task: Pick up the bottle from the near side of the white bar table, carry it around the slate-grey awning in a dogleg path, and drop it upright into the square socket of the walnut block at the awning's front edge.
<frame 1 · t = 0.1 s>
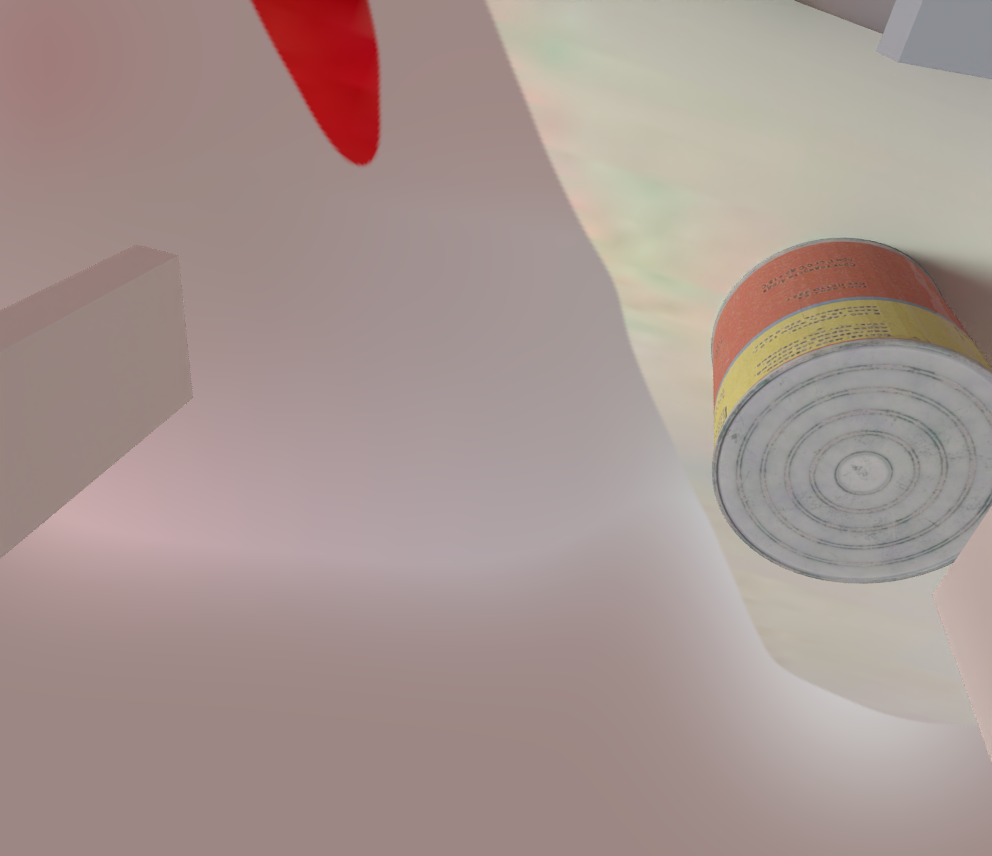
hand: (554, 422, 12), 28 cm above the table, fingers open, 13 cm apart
canned food: (823, 342, 39), on the table
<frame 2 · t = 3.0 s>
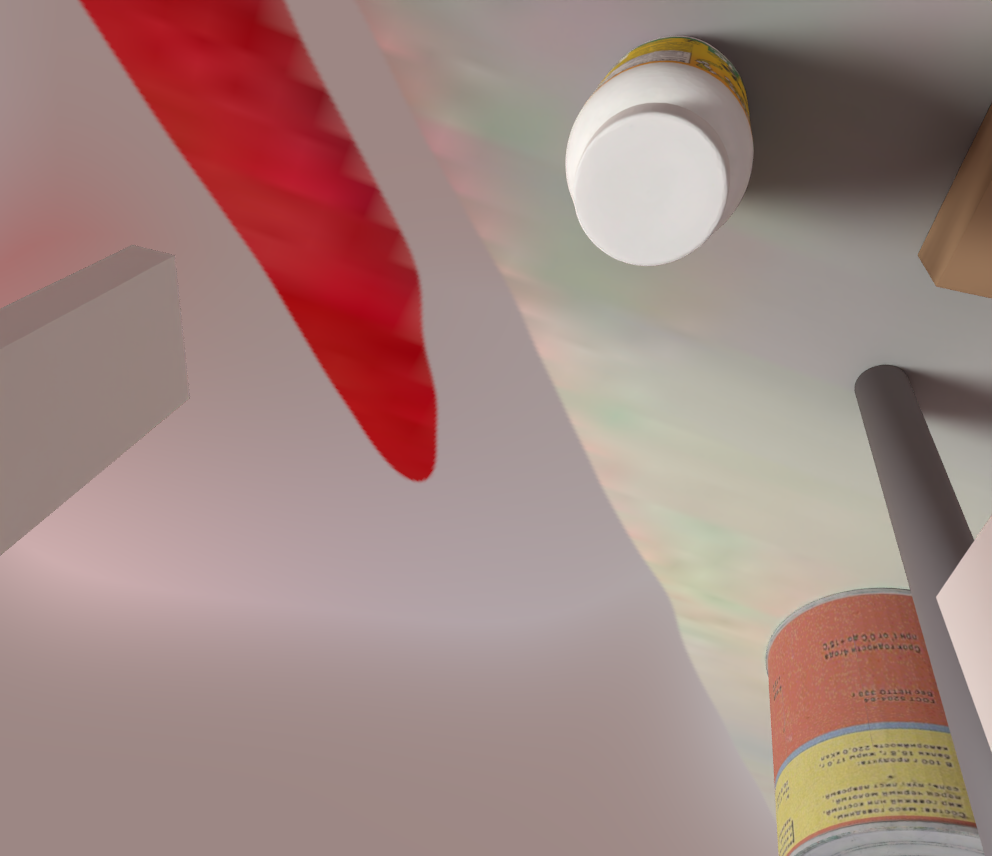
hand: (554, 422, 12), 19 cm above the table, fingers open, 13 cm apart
supplement bottle: (670, 116, 27), on the table
canned food: (880, 663, 39), on the table
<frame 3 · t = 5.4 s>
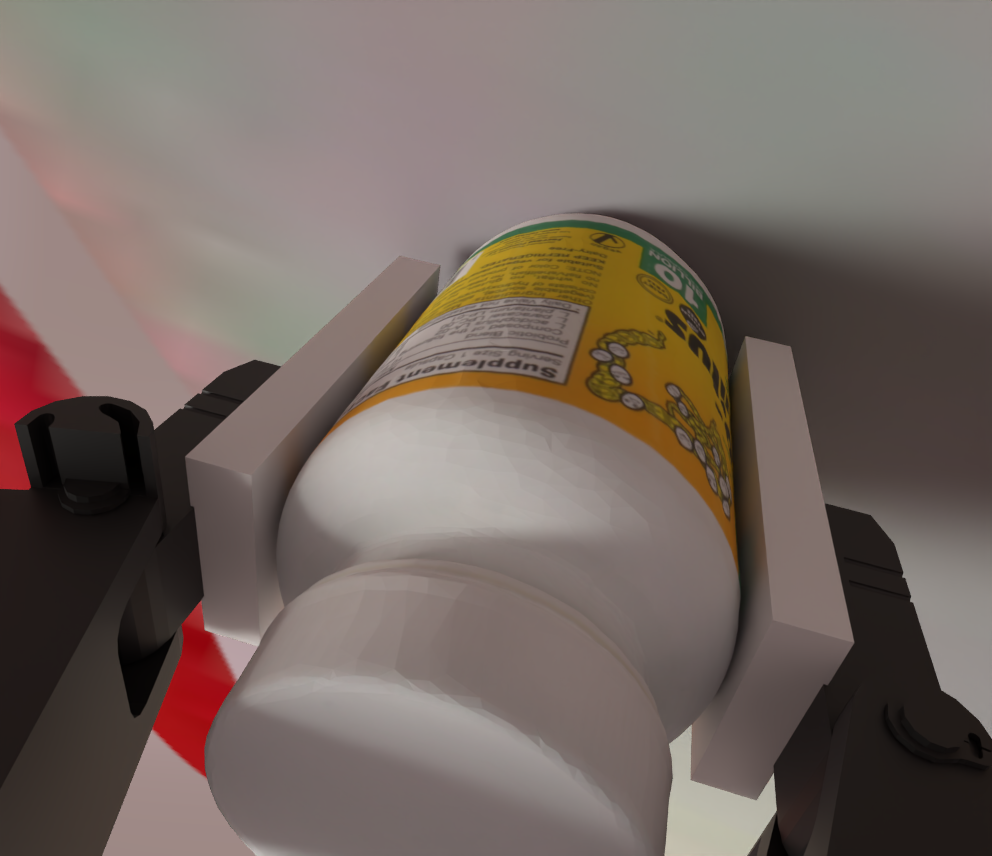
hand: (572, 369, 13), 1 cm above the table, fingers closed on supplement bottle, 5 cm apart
supplement bottle: (581, 345, 14), on the table, touching gripper
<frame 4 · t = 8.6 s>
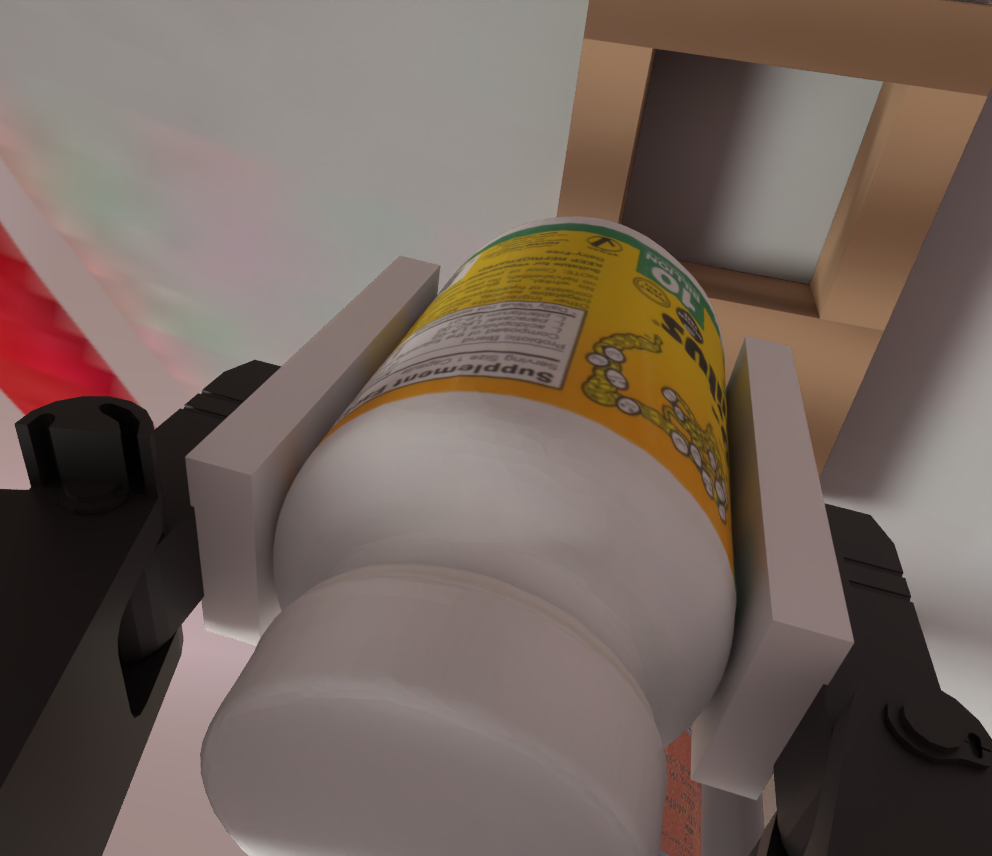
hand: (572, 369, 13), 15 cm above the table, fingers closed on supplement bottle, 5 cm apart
socket block: (711, 266, 27), on the table
supplement bottle: (579, 347, 14), point 14 cm above the table, touching gripper
canned food: (610, 752, 44), on the table
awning: (653, 472, 32), on the table
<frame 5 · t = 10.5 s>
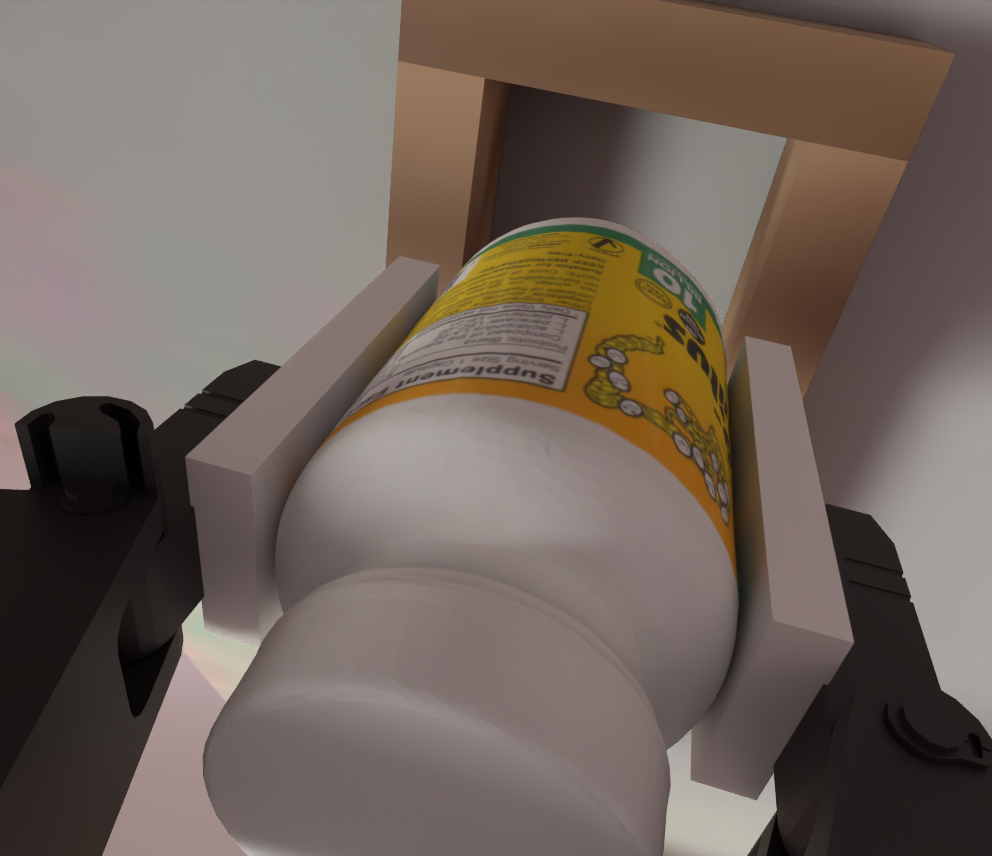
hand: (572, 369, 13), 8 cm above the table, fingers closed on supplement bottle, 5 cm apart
socket block: (591, 340, 22), on the table
supplement bottle: (580, 348, 14), point 7 cm above the table, touching gripper
when the fingers open (4 cm above the table, at t = 11.9 s): supplement bottle drops 3 cm, resting in socket block.
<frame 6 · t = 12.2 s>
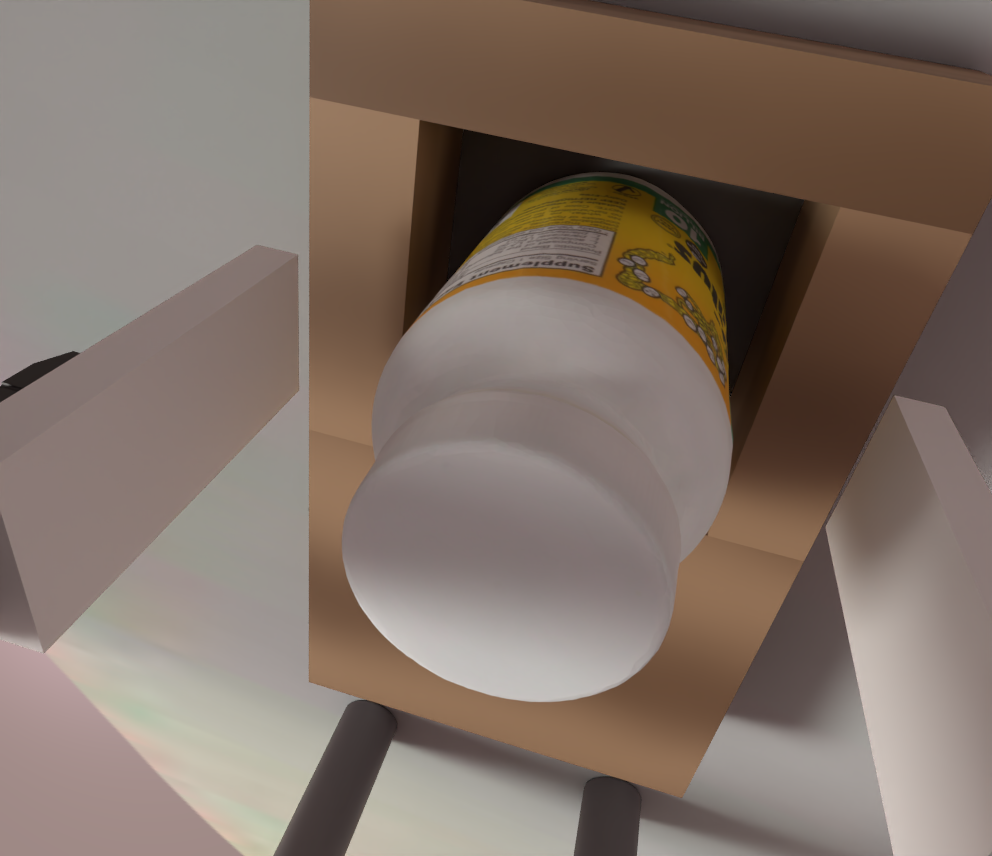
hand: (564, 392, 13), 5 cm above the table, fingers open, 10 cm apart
socket block: (567, 422, 18), on the table
supplement bottle: (600, 289, 17), resting in socket block
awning: (510, 666, 24), on the table
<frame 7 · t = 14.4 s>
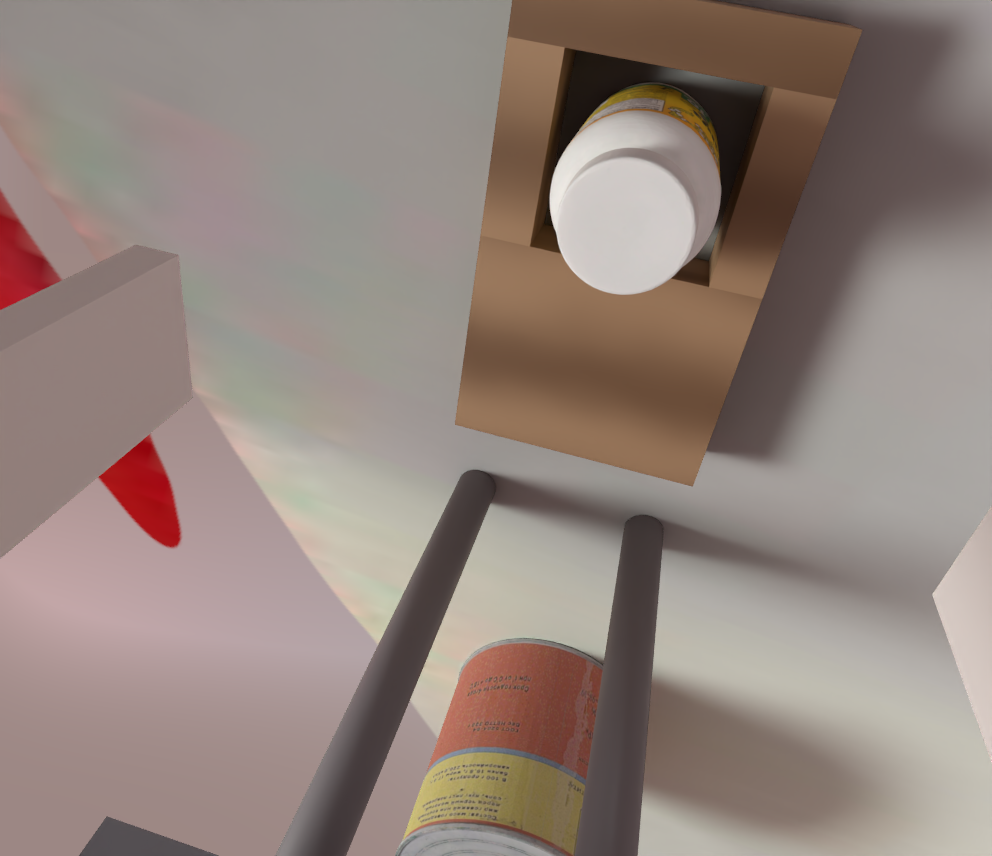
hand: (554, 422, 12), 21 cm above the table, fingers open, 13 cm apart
socket block: (625, 242, 31), on the table
supplement bottle: (647, 155, 29), resting in socket block
canned food: (544, 699, 47), on the table
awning: (578, 429, 36), on the table
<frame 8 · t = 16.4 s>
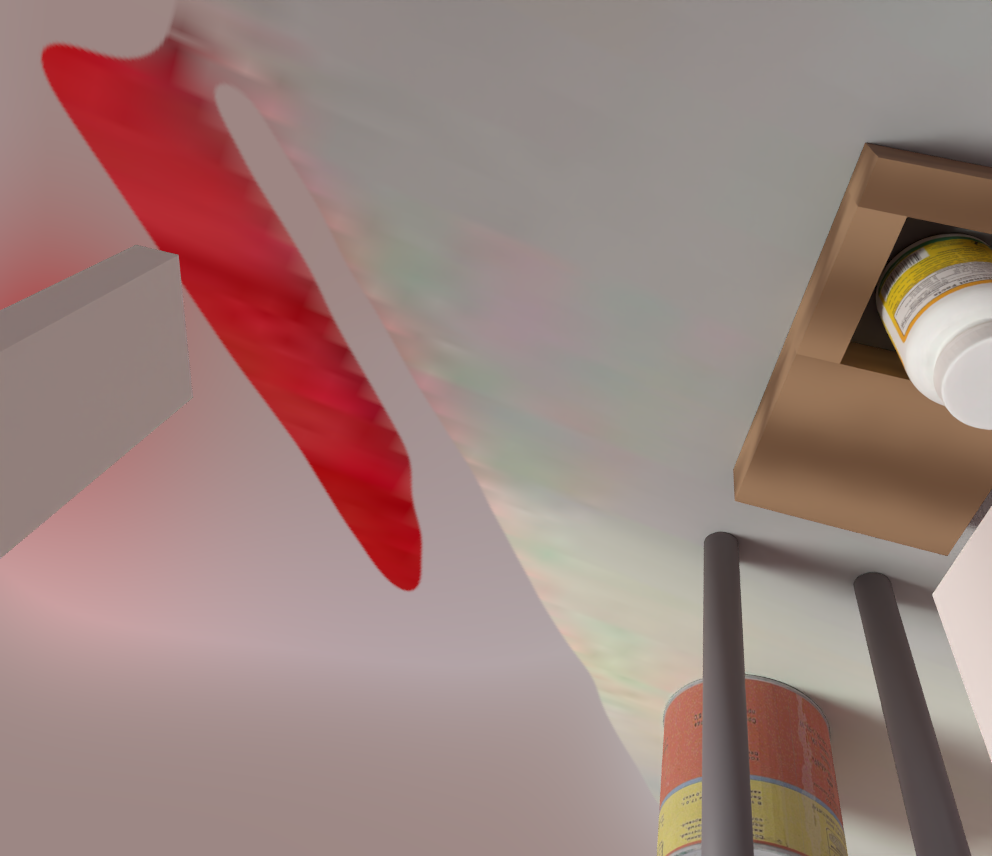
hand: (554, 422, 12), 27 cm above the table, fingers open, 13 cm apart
socket block: (903, 353, 36), on the table
supplement bottle: (935, 286, 35), resting in socket block
canned food: (744, 726, 53), on the table
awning: (828, 501, 42), on the table
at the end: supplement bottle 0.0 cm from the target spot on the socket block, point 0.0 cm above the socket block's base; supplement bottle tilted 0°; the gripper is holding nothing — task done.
